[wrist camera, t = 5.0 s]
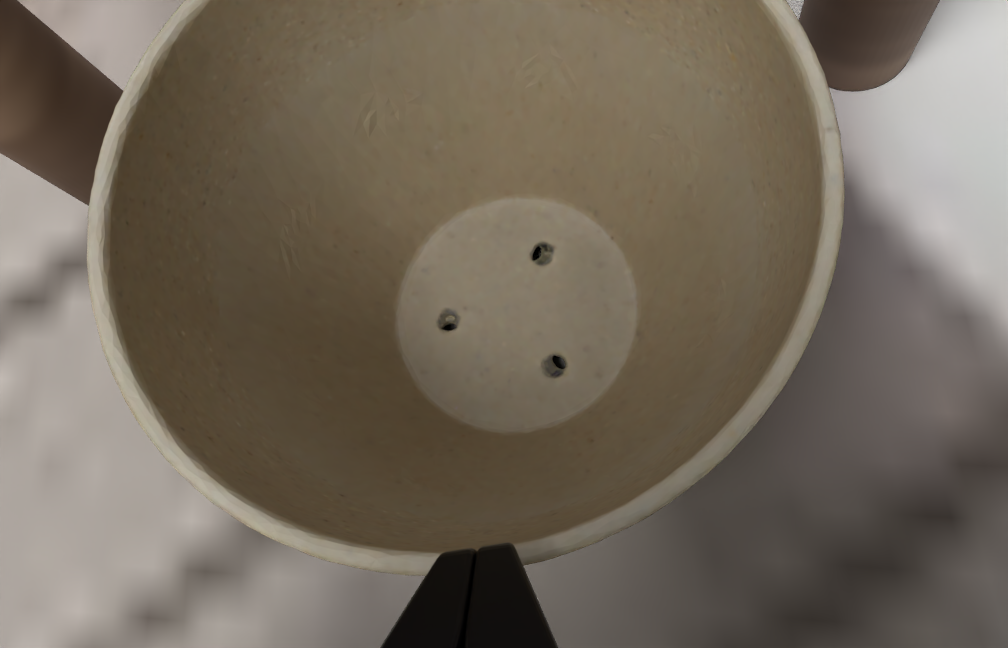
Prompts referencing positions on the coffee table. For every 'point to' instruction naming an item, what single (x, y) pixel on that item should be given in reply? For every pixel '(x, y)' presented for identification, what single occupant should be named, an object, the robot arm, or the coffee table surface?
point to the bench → (93, 97)
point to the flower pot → (461, 259)
